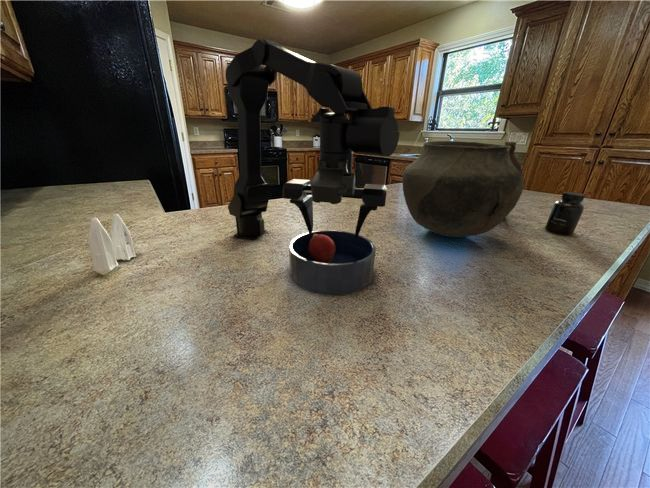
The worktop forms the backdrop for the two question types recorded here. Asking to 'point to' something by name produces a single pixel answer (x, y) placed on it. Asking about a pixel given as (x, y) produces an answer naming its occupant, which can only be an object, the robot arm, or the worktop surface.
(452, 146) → the pot
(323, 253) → the onion
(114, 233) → the shaker set
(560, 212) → the supplement bottle
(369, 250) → the bowl
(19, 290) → the worktop surface
